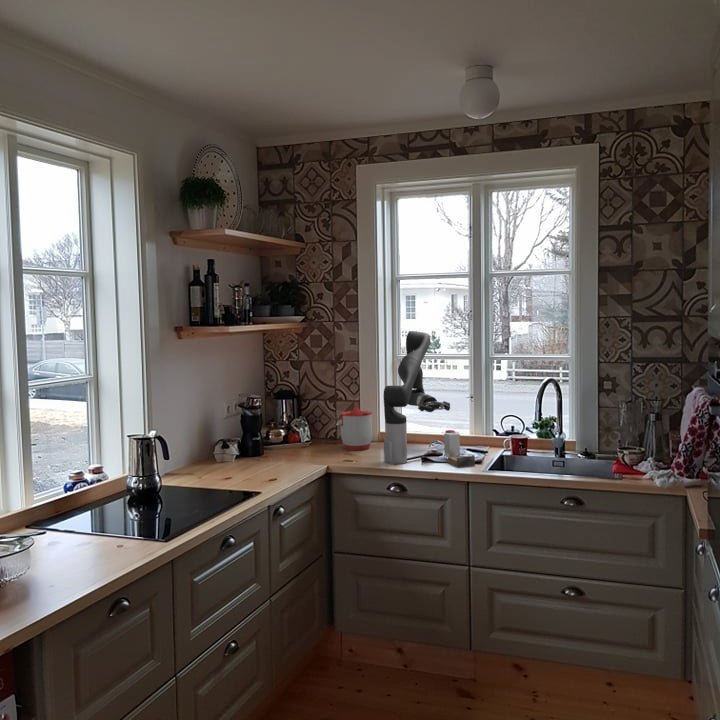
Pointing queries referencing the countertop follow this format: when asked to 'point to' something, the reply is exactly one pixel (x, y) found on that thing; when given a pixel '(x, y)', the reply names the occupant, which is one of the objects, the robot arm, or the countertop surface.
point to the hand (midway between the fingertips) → (439, 409)
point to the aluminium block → (451, 444)
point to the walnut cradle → (462, 461)
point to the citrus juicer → (356, 429)
